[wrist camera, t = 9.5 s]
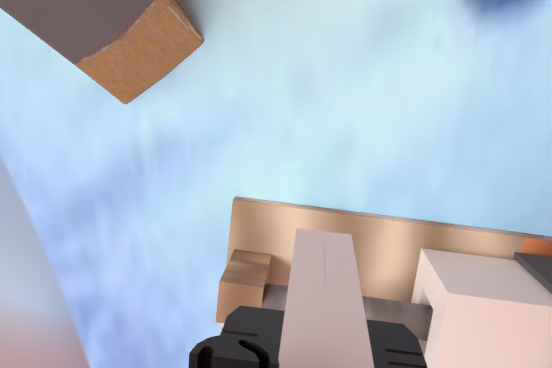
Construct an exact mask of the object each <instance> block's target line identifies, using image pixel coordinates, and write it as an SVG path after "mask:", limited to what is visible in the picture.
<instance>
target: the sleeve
mask: <svg viewBox="0 0 552 368" xmlns="http://www.w3.org/2000/svg"><path fill="white" fill-rule="evenodd" d="M411 303H417V304H424V305H431V306H432V308H433V315H432V320H431V325H430V330H429V335H428V340H427V341H424V340H418V341H419V343H420V346H421V349H422V352H423V356H424V358H425V361H426V364H427V368H552V294H551V293H550V292H549V291H548V290H547V289H546V288H545V287H544V286H543V285H542V284H540V283H539V282H538V281H537V280H536V279H535V278H534V277H533V276H532V275H531V274H530V273H529V272H528V271H527V270H525V269H524V268H523V267H522V266H521V265H520V264H519V263H518V262H517V261H515V260H508V259H500V258H492V257H485V256H477V255H469V254H462V253H454V252H446V251H439V250H431V249H423V248H421V252H420V257H419V263H418V268H417V274H416V279H415V285H414V290H413V295H412V301H411Z"/></svg>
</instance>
